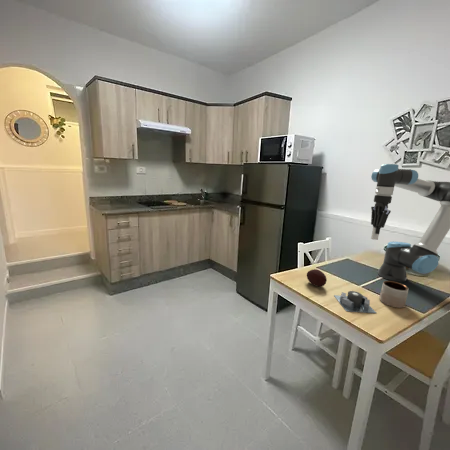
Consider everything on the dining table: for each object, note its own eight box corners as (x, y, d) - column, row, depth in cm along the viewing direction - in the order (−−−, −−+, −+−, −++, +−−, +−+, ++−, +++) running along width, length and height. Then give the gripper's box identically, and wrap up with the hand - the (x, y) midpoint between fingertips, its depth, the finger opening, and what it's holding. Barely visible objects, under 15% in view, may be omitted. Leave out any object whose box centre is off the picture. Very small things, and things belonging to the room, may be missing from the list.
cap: (357, 300, 121) (358, 291, 119) (363, 307, 114) (365, 297, 113) (344, 299, 121) (345, 290, 120) (350, 306, 115) (351, 297, 113)
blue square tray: (360, 297, 124) (361, 291, 123) (376, 313, 111) (377, 307, 110) (333, 295, 125) (334, 290, 124) (346, 311, 111) (347, 304, 110)
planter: (395, 310, 114) (400, 292, 112) (374, 298, 124) (378, 282, 121) (409, 306, 118) (414, 288, 116) (387, 295, 128) (391, 279, 126)
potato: (319, 291, 128) (321, 275, 126) (301, 282, 138) (303, 267, 136) (329, 288, 133) (331, 272, 131) (311, 279, 143) (313, 264, 140)
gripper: (369, 193, 128) (360, 235, 133) (383, 196, 115) (374, 242, 121) (383, 194, 128) (374, 236, 133) (399, 196, 115) (389, 243, 121)
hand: (374, 239), depth 127 cm, fingers closed
